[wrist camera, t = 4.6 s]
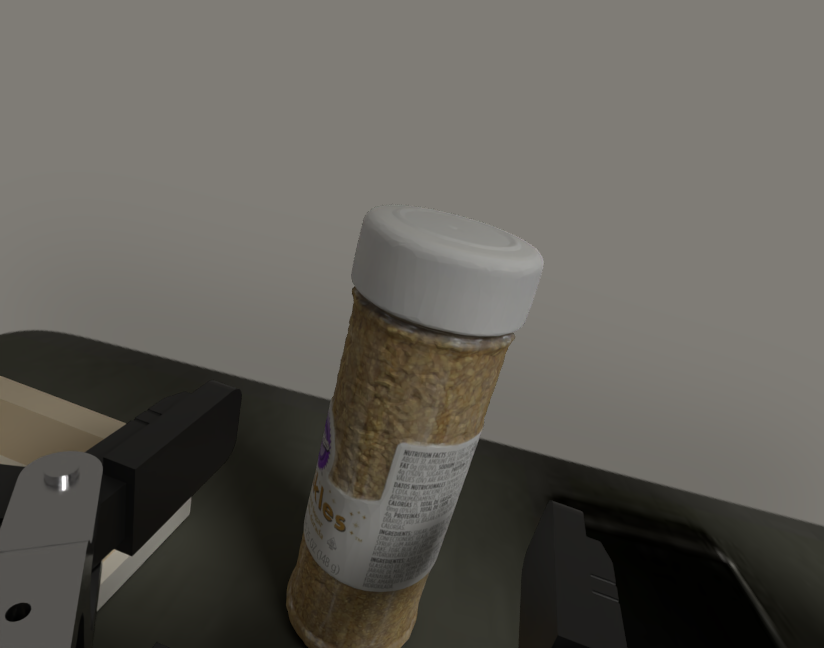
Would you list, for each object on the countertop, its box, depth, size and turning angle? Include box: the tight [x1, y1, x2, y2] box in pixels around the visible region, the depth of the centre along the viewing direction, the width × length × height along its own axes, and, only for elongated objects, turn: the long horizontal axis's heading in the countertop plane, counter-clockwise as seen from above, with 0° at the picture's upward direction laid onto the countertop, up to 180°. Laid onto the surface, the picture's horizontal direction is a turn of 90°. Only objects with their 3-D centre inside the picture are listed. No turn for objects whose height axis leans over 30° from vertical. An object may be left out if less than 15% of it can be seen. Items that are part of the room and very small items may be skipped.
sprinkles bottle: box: [286, 205, 544, 648], centre depth 15 cm, size 5×5×13 cm
